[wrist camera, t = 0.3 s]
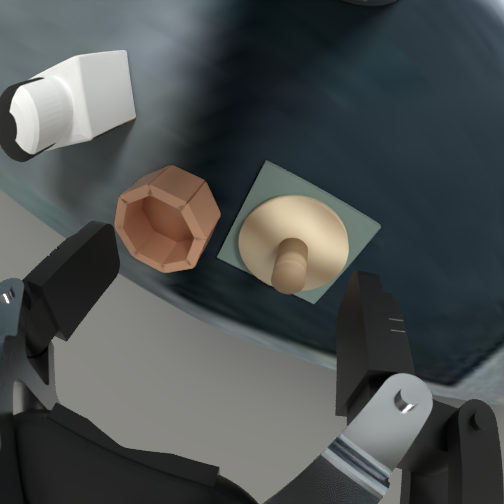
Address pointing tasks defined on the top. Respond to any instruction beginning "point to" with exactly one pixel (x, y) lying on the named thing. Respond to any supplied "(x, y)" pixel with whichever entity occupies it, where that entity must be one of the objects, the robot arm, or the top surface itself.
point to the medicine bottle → (66, 104)
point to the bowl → (167, 219)
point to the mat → (284, 182)
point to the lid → (294, 243)
